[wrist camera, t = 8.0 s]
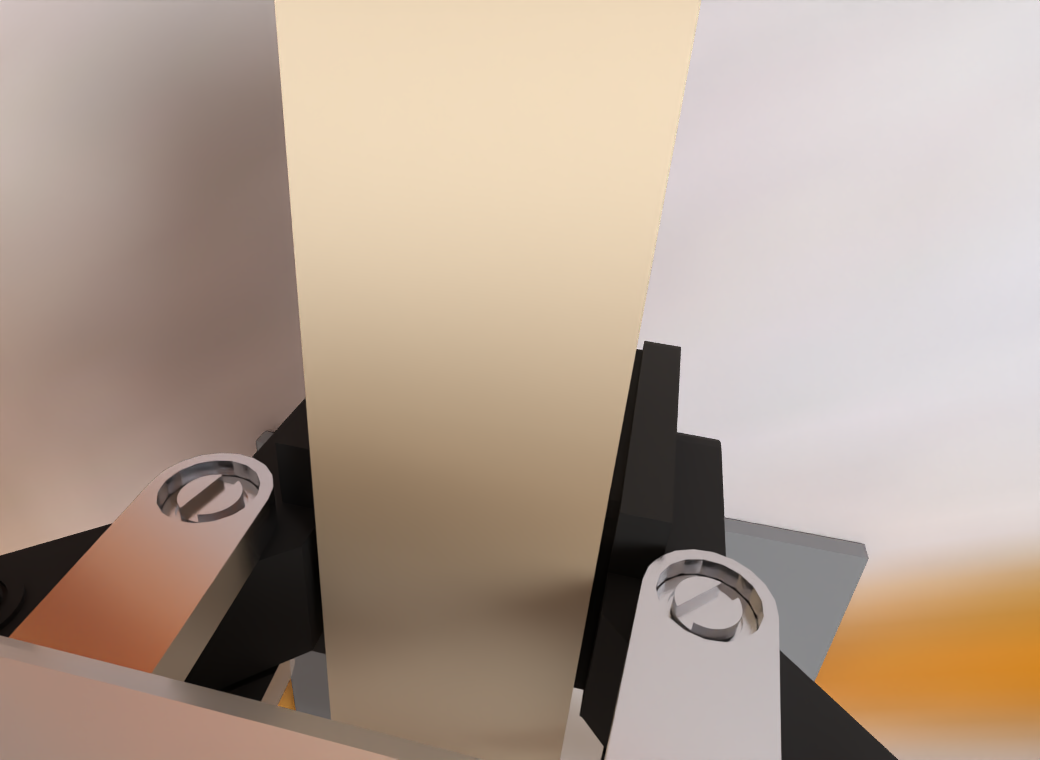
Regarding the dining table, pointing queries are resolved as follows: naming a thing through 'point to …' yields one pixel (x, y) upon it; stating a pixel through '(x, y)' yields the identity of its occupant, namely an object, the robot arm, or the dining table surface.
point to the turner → (471, 338)
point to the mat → (762, 549)
